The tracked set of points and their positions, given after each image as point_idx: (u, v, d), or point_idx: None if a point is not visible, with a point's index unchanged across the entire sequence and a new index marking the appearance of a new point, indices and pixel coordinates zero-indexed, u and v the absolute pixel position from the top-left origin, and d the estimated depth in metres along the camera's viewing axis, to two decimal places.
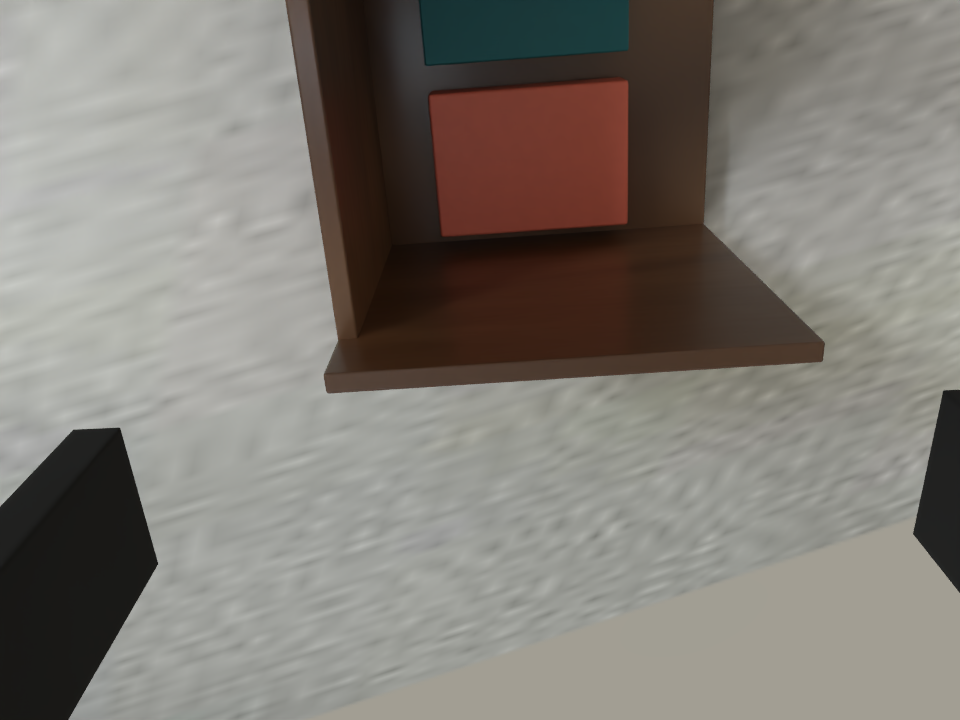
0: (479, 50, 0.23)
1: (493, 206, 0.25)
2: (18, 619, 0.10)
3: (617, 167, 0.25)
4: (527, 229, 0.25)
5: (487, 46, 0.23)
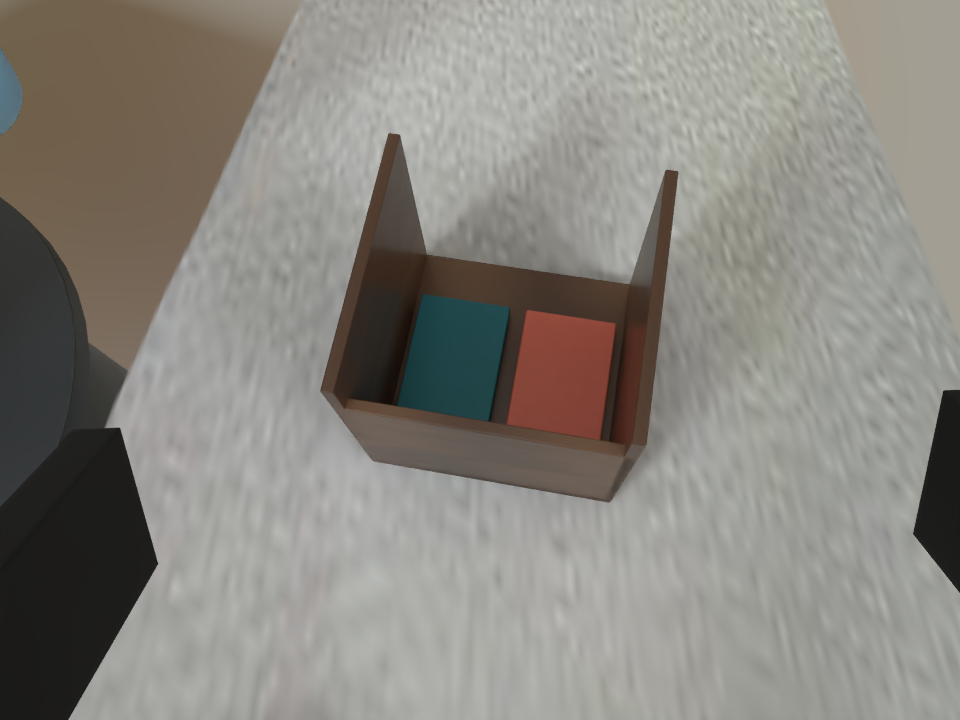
0: (487, 389, 0.37)
1: (586, 403, 0.37)
2: (18, 619, 0.10)
3: (577, 323, 0.38)
4: (606, 385, 0.37)
5: (486, 384, 0.37)
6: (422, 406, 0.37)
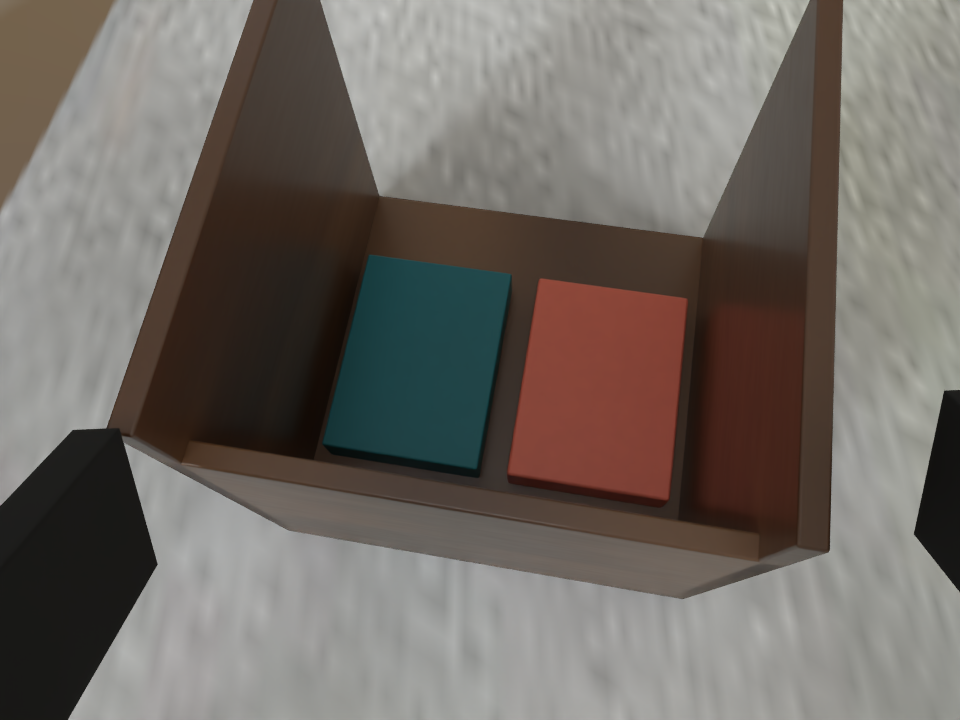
0: (475, 410, 0.22)
1: (642, 432, 0.22)
2: (17, 620, 0.10)
3: (623, 298, 0.23)
4: (676, 401, 0.22)
5: (474, 402, 0.22)
6: (366, 440, 0.22)
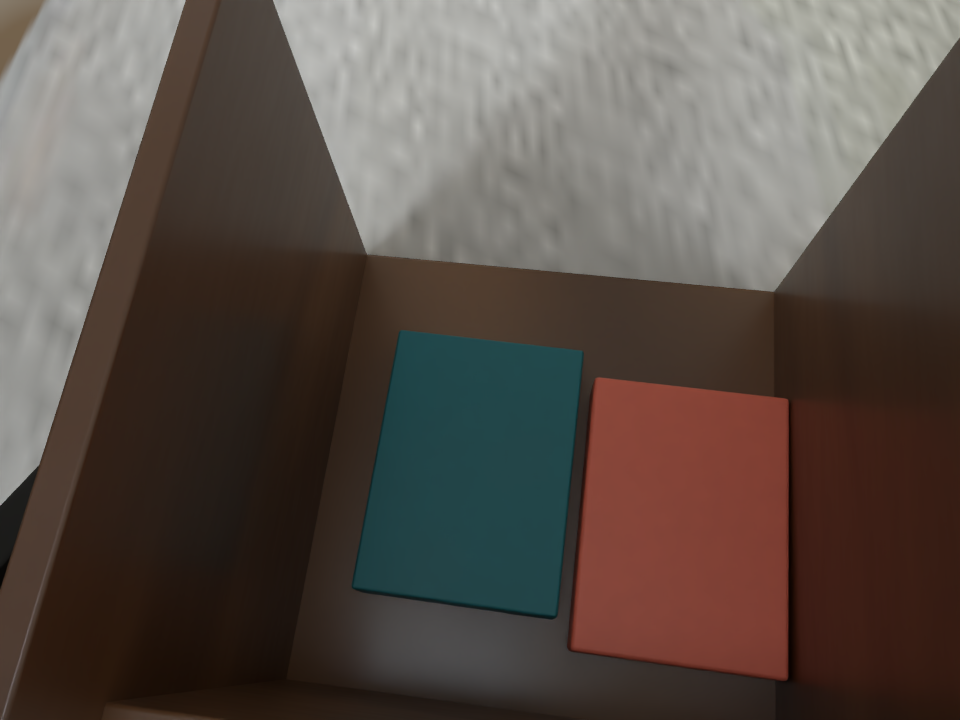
0: (550, 536, 0.17)
1: (745, 585, 0.17)
2: None
3: (706, 402, 0.18)
4: (785, 540, 0.17)
5: (548, 525, 0.17)
6: (409, 581, 0.17)
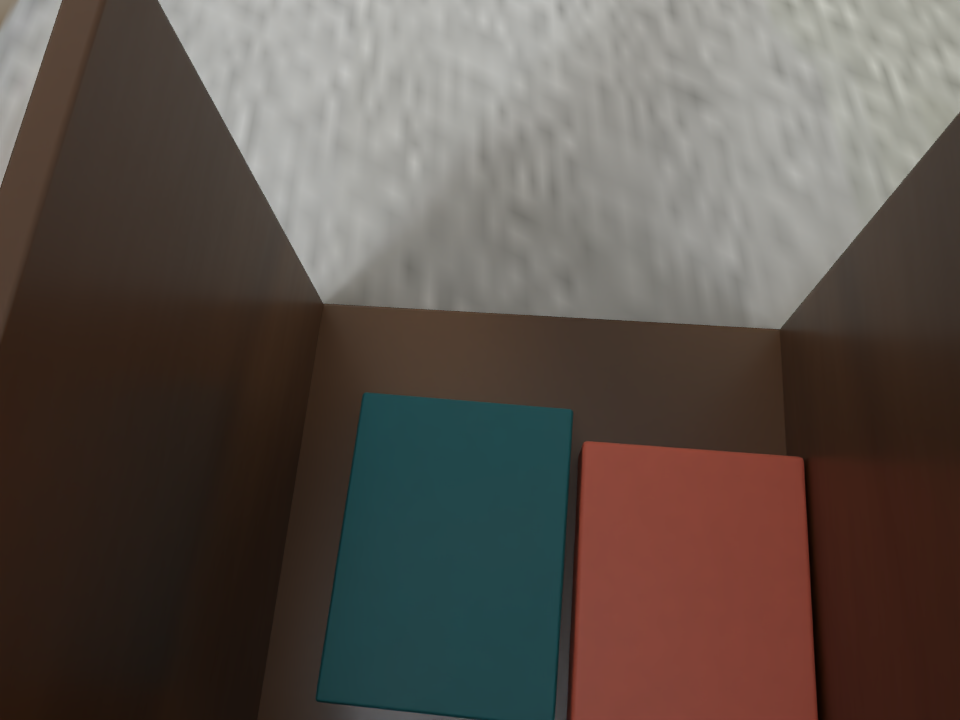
0: (542, 630, 0.15)
1: (766, 681, 0.14)
2: None
3: (711, 465, 0.16)
4: (809, 625, 0.15)
5: (539, 616, 0.15)
6: (381, 690, 0.15)
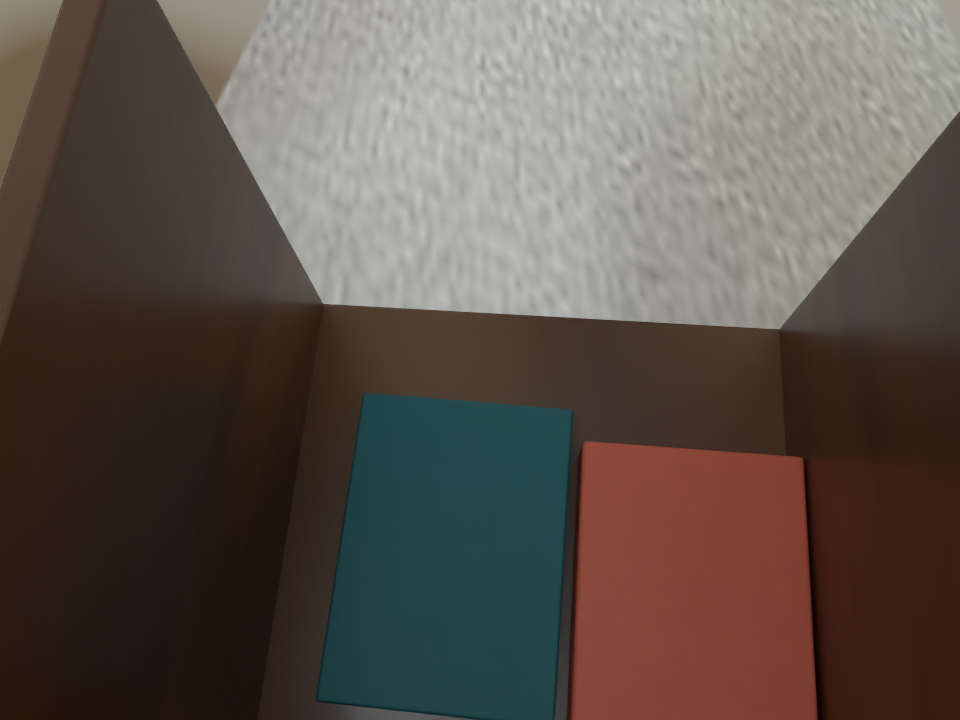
0: (542, 630, 0.15)
1: (766, 681, 0.14)
2: None
3: (710, 465, 0.16)
4: (809, 625, 0.15)
5: (539, 617, 0.15)
6: (382, 690, 0.15)
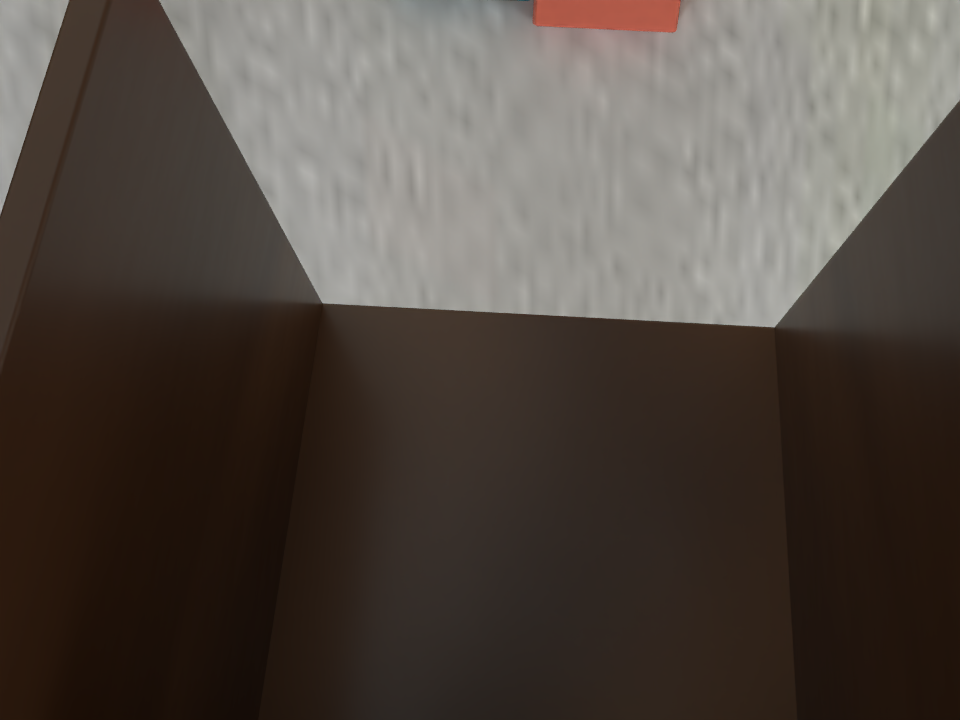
0: None
1: None
2: None
3: None
4: None
5: None
6: None
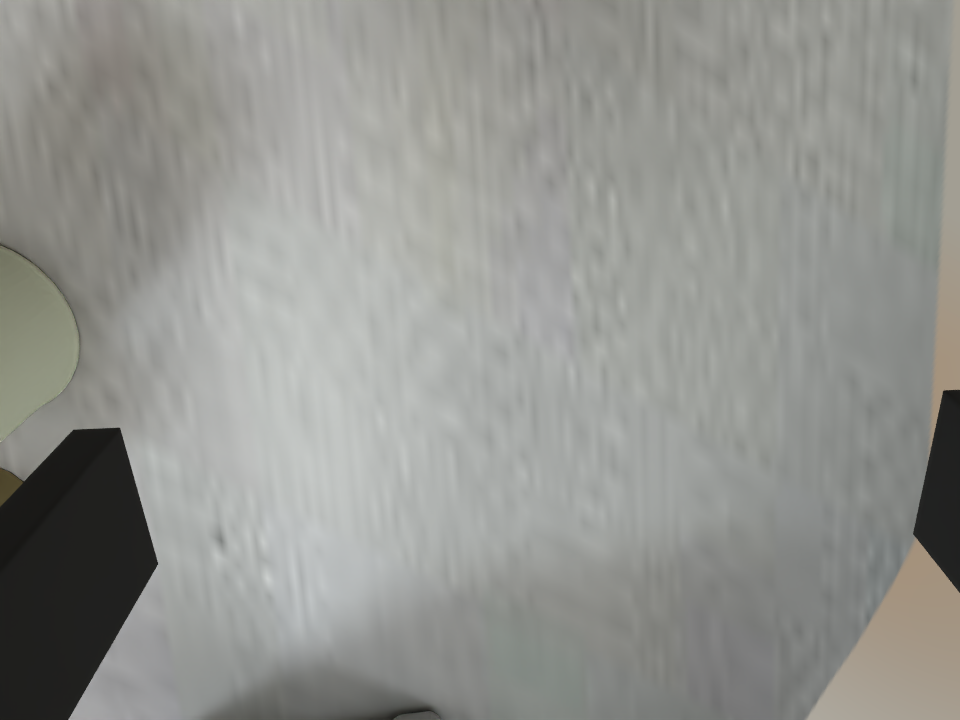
0: None
1: None
2: (18, 619, 0.10)
3: None
4: None
5: None
6: None
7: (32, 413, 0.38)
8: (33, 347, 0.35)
